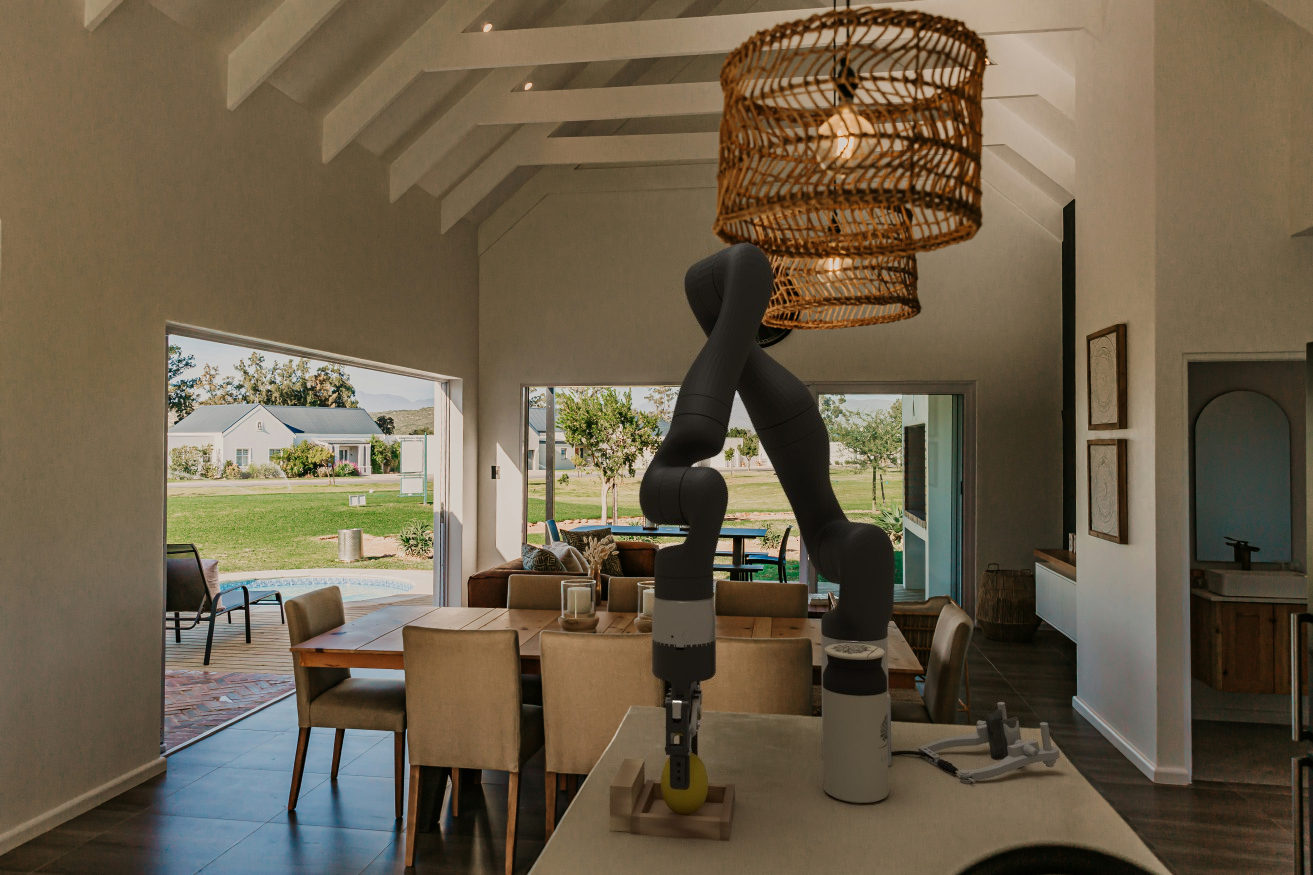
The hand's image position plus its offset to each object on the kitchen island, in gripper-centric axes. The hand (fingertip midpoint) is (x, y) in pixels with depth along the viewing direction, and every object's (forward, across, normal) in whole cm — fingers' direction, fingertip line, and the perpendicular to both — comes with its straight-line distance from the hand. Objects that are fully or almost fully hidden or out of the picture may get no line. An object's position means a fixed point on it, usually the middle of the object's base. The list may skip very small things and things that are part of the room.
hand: (684, 774), depth 98 cm
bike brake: (+6, -23, +37) cm, 44 cm away
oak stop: (+5, 0, -7) cm, 8 cm away
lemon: (+5, 0, 0) cm, 5 cm away
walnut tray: (+6, 0, 0) cm, 6 cm away
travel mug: (+5, -11, +20) cm, 24 cm away
